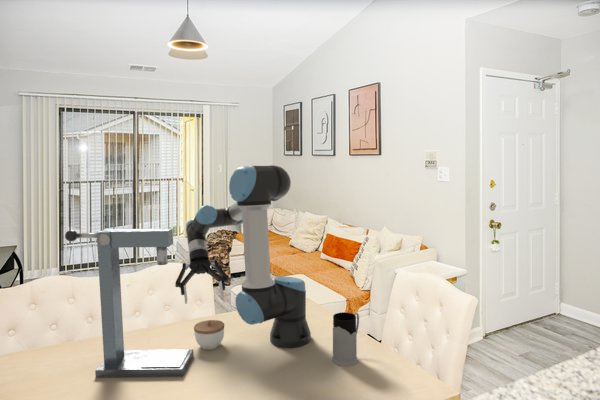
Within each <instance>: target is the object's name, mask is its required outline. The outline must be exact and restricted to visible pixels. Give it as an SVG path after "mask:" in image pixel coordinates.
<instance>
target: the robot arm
mask: <svg viewBox="0 0 600 400" xmlns="http://www.w3.org/2000/svg"><path fill="white" fill-rule="evenodd" d="M291 185H292V183H291V176H290V175H289V173H288V172H287V171H286V169H284V168H283V167H281V166H280V165H279V166H278V165H245V166H239V167H237V168H236V169H235V170H234V171H233V172H232V174H231V176H230V178H229V187H228V188H229V194H230V196H231V198H232V200H233V201H235V202H234V203H233V204H231V205H230V206H228V207H225V208H224V207H223V208H215V207H214V206H212V205H209V204H205V205H202V206H201V207H200V208H199V209H198V211H197V212H196V214H195V217H194V218H192V219H190V220H188V221H187V223H186V225H185V232H186V238H187V247H188V254H189V255H188V256H189V257H188V258H189V263H185V262H182V268H181V270H180V272H179V275H178V276H177V278H176V280H175V282H174V283H175V284H174V285H175V287H176V288H179V289H180V295H181V296H183V297H184V305H185V304H188V293H187V284H188V282H189V281H190V280H191V279H192V277H194V275H195V274H196V275H200V274H201V275H204V274H207V275H210V276H211V277H212V278H213V279H214V280H216V281H217V282H218V287H219V293H220V300H224V296H225V295H224V291H225V290H226V283H228V281H229V276H228V275H227V274H226V272H225V271H224V270H223V269H222V267H221V265H220V264H219V263H218V260H217V259H214V261H210V258H209V252H208V244H207V237H206V236H207V234H208V232H210V231H209V230H210V229H211V228H212V229H214V228H219V227H220V228H221V227H228V226H230V227H231V226H237V225H241V224H242V231H243V232H242V234H243V251H244V254H243V255H244V270H245V280H244V281H243V282H242V283H241V291H240V292H238V293H237V294H236V297H235V308H236V311H237V313H238V315H239V317H240V318H241V319H242V321H243V322H245V323H246V324H248V325H250V326H251V325H252V326H254V325H258V324H262V323H264V322H268V321H270V320H273V324H272V326H271V330H270V333H269V340H270V343H272V344H273V345H274V346H277V347H281V348H297V347H302V346H304V345H307V344H308V343H309V342H310V341H311V340H312V339H311V338H312V336H311V334H312V333H311V330H310V329H311V328H310V327H309V325H308V321H307V318H306V317H307V314H306V313H307V311H306V310H307V309H306V307H307V306H306V298H307V297H306V296H307V294H306V292H307V290H306V283H305V281H304V280H303V279H301V278H297V277H294V276H276V277H275V278H274V279H272V277H271V263H270V260H271V259H270V242H269V241H270V240H269V221H268V219H269V217H268V209H269V208H270V206H271V205H272V202H276V201H278V200H280V199H282V198H283V197H285V196H286V195H287V194H288V193H289V191H290V188H291ZM212 268H214V270H213V269H212ZM188 269H190V271H189V272H188V273H187V275H186V276H185V274H186V271H187V270H188ZM215 270H216V271H215ZM184 276H185V277H184ZM183 278H184V279H183Z"/></svg>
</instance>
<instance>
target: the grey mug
mask: <svg viewBox="0 0 600 400" xmlns="http://www.w3.org/2000/svg"><path fill="white" fill-rule="evenodd" d="M332 321H333V322H332V323H333V324H332V325H333V327H332V357H331V363H333V364H334V365H337V366H340V367H351V366H355V365H356V364H358V362H359V359H358V357H357V354H358V353H357V352H358V351H357V349H358V348H357V338H358V337H357V334H358V333H359V332H358V330H359V324H360V316H359V313H357V312H354V313H351V312H343V311H342V312H337V313H335V314H333V317H332Z"/></svg>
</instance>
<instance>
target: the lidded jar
mask: <svg viewBox="0 0 600 400" xmlns="http://www.w3.org/2000/svg"><path fill="white" fill-rule="evenodd" d="M193 330H194V331H193V332H194V338H195V341H196V344H197V345H198V346H199V347H201V349H203V350H214V349H217V348H218V347H219V345H220V344H221V343H222V341H223V340H224V336H225V323H224V322H223V321H222V320H218V319H209V320H208V319H207V320H203V321H200V322H198V323H196V324H194V326H193Z"/></svg>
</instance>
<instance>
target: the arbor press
mask: <svg viewBox="0 0 600 400" xmlns="http://www.w3.org/2000/svg"><path fill="white" fill-rule="evenodd" d="M64 238H65V240H66V241H68V242H74V241H76V240H77V239H96V240H95V241H96V243H97V245H96V246H97V262H98V278H99V282H98V283H99V296H100V309H101V310H100V311H101V312H100V313H101V314H100V315H101V317H100V318H101V328H102V329H101V331H102V332H101V333H102V346H103V347H102V350H103V351H102V352H103V362H101V364H100V365H99V366H98V367H97V368H96V369H95V371H94V373H95V378H100V379H101V378H160V377H161V378H162V377H163V378H164V377H165V378H167V377H173V378H175V377H177V378H178V377H179V378H180V377H183V376H184V374H185V373H186V370H187V369H188V367H189V365H190V363H191V361H192V360H193V358H194V349H193V348H192V349H190V348H189V349H125V343H124V326H123V325H124V321H123V307H122V306H123V304H122V287H121V270H120V269H121V267H120V266H121V265H120V252H119V251H120V249H119V248H156V265H157V266H165V265H168V262H169V261H168V248H169V247H171V246H172V245H173V244H174V229H173V228H131V229H130V228H121V229H120V228H104V229H102V230H99V231H97V232H77V231H76V230H73V229H71V230H70V229H69V230H68V231H66V233H65V235H64Z"/></svg>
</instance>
